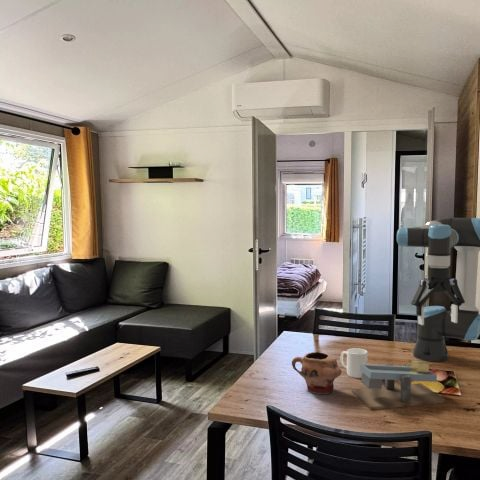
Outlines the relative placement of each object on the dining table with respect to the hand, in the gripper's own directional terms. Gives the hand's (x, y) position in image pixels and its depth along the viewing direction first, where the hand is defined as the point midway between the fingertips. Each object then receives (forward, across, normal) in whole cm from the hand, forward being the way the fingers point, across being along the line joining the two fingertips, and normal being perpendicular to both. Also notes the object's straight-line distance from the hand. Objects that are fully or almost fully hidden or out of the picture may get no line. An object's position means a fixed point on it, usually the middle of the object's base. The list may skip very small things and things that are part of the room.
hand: (437, 323), depth 178 cm
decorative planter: (+27, +43, -12) cm, 52 cm away
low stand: (+27, +16, 0) cm, 31 cm away
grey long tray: (+23, +17, 0) cm, 28 cm away
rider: (+19, +7, 0) cm, 20 cm away
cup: (+27, +22, -26) cm, 43 cm away
